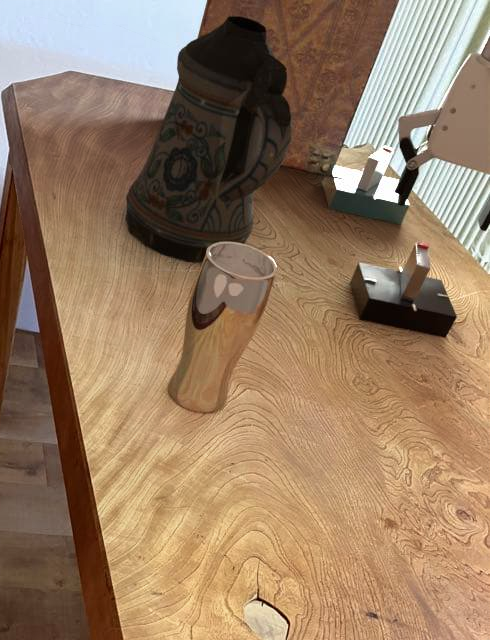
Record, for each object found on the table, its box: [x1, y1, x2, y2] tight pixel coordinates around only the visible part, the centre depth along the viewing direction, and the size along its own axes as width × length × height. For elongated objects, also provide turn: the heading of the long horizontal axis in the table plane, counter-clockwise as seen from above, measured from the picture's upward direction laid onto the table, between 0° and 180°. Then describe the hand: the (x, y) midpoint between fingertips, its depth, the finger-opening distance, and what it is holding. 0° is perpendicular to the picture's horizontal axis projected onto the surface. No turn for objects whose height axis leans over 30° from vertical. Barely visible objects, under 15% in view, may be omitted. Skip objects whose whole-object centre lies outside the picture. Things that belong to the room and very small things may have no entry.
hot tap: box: [401, 240, 431, 302], centre depth 108 cm, size 6×2×5 cm, turn 165°
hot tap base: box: [349, 262, 458, 339], centre depth 110 cm, size 11×11×3 cm
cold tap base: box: [321, 165, 411, 225], centre depth 133 cm, size 11×11×3 cm
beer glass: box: [167, 241, 278, 414], centre depth 85 cm, size 7×7×15 cm
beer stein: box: [125, 16, 292, 264], centre depth 107 cm, size 16×19×25 cm
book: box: [197, 0, 400, 176], centre depth 131 cm, size 25×9×30 cm, turn 82°
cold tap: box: [357, 145, 395, 191], centre depth 130 cm, size 6×2×5 cm, turn 146°
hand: (440, 213), depth 103 cm, fingers open, 9 cm apart
